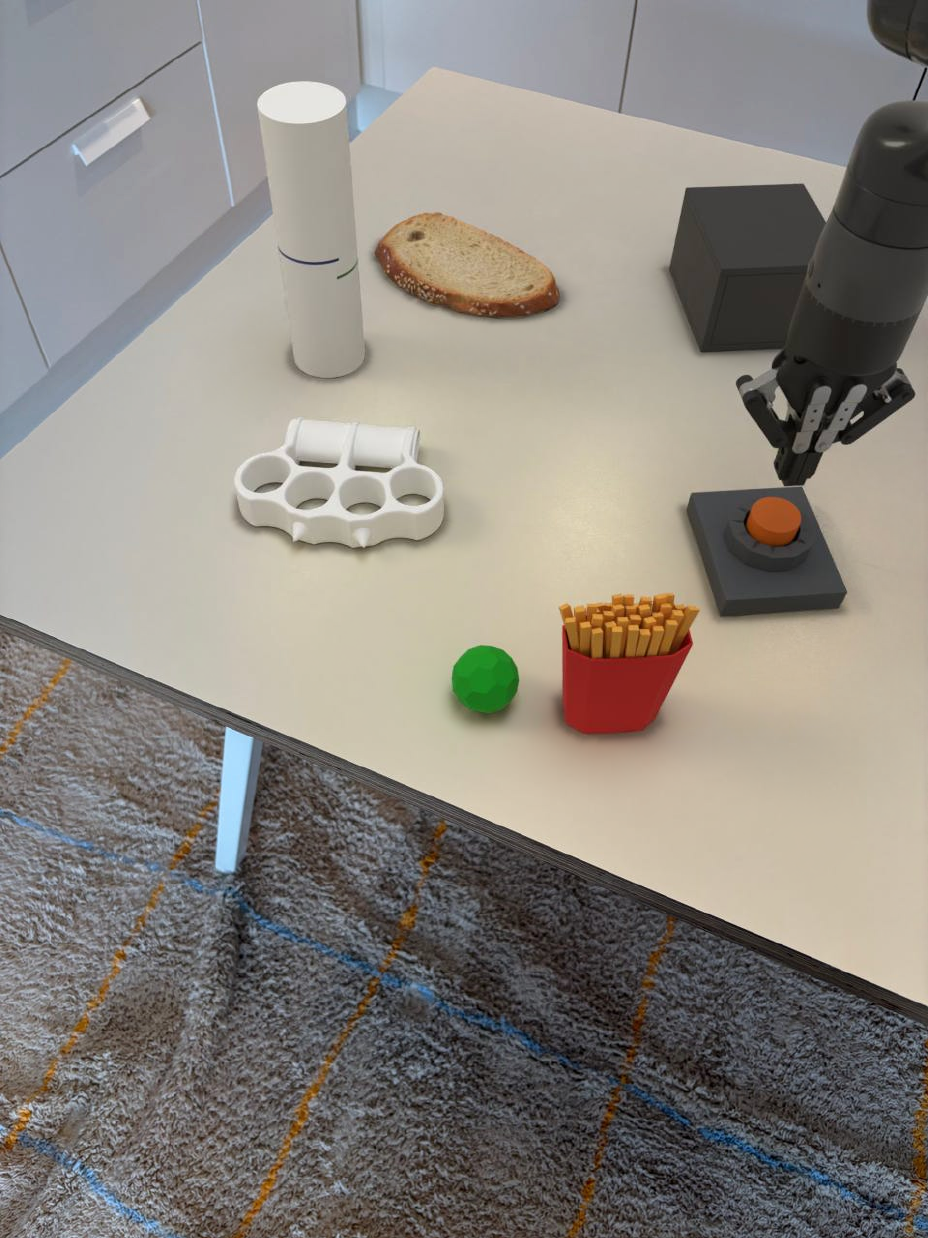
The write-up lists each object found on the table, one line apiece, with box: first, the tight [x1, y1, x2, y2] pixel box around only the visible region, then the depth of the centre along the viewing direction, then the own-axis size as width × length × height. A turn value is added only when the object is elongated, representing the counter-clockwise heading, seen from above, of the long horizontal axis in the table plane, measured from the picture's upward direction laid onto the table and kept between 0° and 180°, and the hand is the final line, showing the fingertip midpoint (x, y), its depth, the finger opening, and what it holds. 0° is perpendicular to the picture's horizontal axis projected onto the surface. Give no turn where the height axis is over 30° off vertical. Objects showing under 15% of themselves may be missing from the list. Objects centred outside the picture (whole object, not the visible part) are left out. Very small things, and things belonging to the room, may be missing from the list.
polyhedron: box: [451, 644, 520, 714], centre depth 74 cm, size 5×5×5 cm
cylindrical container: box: [256, 80, 366, 379], centre depth 90 cm, size 7×7×25 cm
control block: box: [686, 486, 848, 617], centre depth 83 cm, size 12×10×4 cm
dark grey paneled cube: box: [668, 183, 827, 353], centre depth 103 cm, size 15×13×10 cm
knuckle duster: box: [233, 416, 445, 549], centre depth 87 cm, size 3×18×15 cm
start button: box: [747, 497, 801, 546], centre depth 81 cm, size 4×4×2 cm
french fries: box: [558, 592, 701, 735], centre depth 70 cm, size 9×4×13 cm, turn 94°
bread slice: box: [374, 211, 561, 319], centre depth 108 cm, size 18×18×4 cm
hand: (790, 478), depth 77 cm, fingers closed
